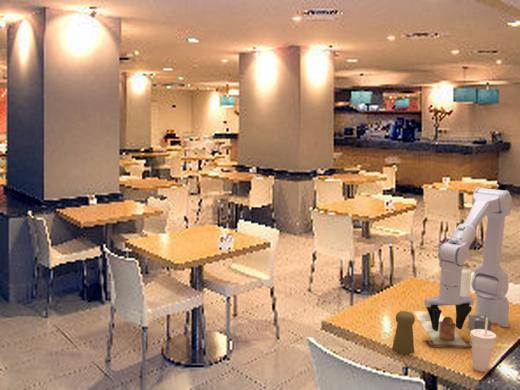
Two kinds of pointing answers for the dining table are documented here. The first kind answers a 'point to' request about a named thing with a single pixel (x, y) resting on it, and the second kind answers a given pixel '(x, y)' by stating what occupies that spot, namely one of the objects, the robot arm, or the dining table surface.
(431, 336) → the game board
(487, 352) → the smoothie
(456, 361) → the dining table surface
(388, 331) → the dining table surface
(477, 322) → the die
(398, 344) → the olive brown pawn
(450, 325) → the pawn
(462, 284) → the can
